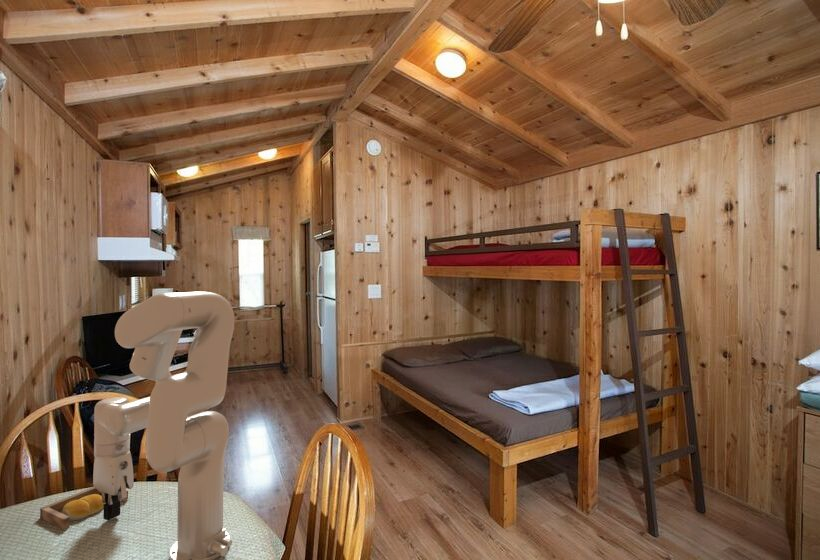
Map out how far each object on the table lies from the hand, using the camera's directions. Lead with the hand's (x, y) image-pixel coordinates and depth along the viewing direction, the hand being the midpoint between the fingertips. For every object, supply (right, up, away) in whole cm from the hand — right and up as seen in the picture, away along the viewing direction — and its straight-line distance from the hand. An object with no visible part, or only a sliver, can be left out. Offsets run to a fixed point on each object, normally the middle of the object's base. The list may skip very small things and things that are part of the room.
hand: (111, 517), depth 108 cm
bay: (-10, -1, +5) cm, 11 cm away
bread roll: (-10, -1, +3) cm, 11 cm away
